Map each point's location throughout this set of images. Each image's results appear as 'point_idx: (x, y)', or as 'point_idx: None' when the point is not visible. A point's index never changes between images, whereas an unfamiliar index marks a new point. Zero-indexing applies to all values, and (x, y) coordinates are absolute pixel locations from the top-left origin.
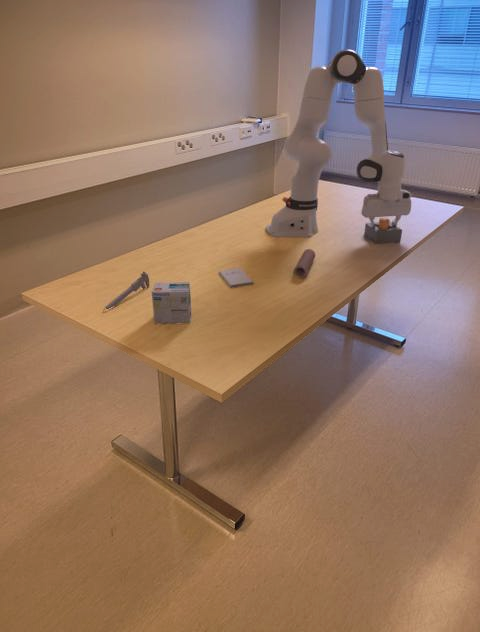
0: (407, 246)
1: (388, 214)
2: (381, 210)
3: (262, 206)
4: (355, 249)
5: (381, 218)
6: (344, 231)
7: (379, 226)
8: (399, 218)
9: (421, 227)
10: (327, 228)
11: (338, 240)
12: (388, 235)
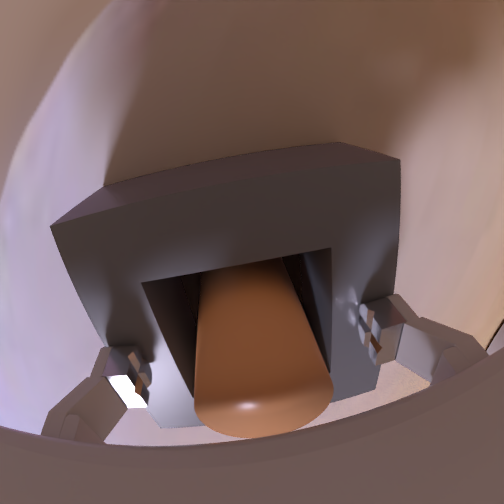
0: (74, 81)
1: (250, 469)
2: (451, 493)
3: None
4: (481, 73)
5: (289, 426)
6: None
7: (309, 325)
8: (62, 408)
9: (14, 391)
10: None
11: (500, 227)
12: (227, 170)
